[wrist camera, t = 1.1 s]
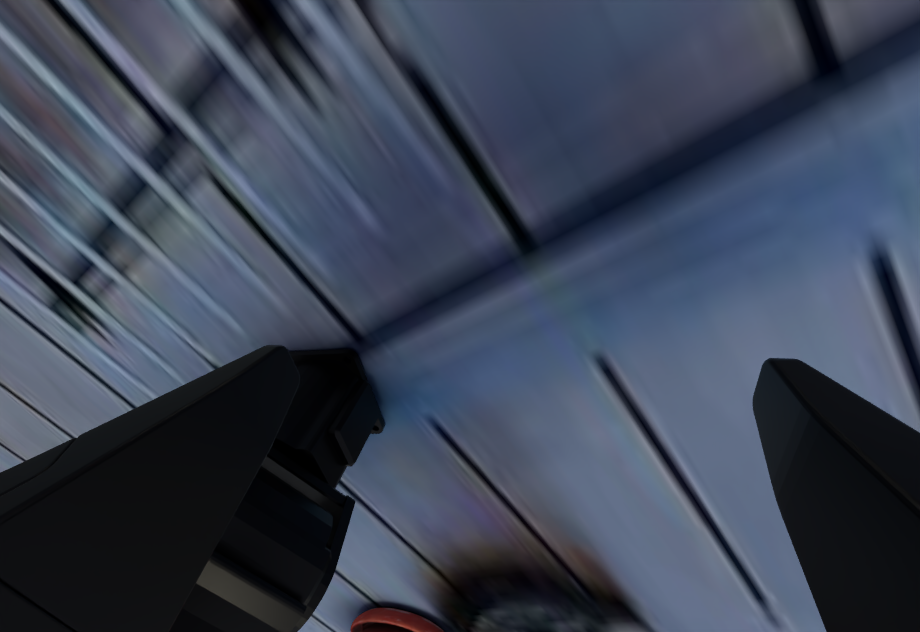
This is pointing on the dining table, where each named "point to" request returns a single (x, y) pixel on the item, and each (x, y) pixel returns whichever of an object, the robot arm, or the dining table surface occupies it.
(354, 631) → the plant pot
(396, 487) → the dining table surface
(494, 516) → the dining table surface
